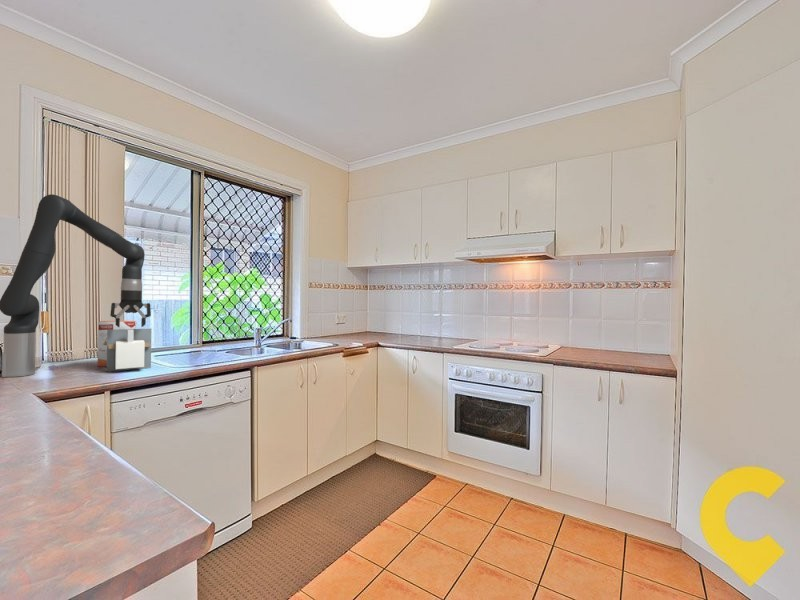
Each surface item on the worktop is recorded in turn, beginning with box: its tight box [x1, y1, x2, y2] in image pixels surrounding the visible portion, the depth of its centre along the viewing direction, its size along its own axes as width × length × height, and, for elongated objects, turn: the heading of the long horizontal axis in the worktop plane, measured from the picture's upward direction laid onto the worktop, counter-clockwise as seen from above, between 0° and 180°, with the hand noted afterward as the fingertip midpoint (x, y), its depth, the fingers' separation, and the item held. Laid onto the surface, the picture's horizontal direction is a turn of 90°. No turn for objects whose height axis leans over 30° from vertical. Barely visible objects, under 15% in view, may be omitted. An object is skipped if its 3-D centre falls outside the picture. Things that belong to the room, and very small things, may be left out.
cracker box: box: [97, 320, 137, 368], centre depth 179 cm, size 14×6×21 cm, turn 121°
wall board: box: [106, 328, 152, 373], centre depth 170 cm, size 16×8×18 cm, turn 128°
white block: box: [115, 330, 145, 369], centre depth 165 cm, size 10×7×16 cm
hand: (130, 326), depth 165 cm, fingers open, 8 cm apart
